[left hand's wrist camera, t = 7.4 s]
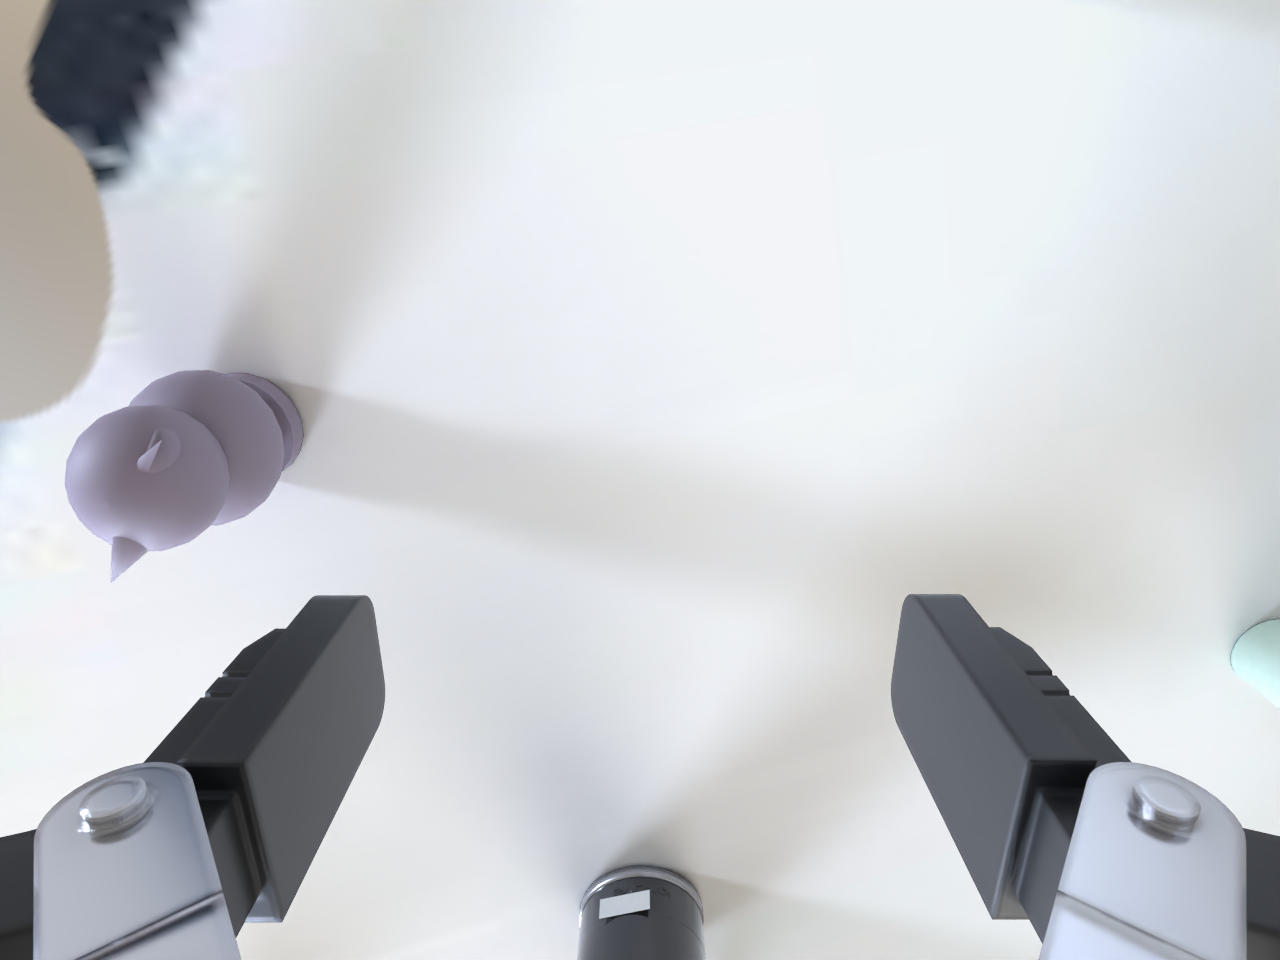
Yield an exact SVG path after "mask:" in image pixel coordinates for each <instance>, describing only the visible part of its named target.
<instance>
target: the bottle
mask: <svg viewBox="0 0 1280 960" xmlns="http://www.w3.org/2000/svg"><path fill="white" fill-rule="evenodd" d="M1231 664H1232V667H1233V669H1234V671H1235V673H1236V674H1237V675H1238V676H1239V677H1241V678H1242V679H1243V680H1244V681H1246V682H1247V683H1248V684H1249V685H1251V686H1252V687H1253V688H1254V689H1256V690H1257V691H1258V692H1259V693H1261V694H1262V695H1263V696H1264V697H1266V698H1267V699H1268V700H1269V701H1271V702H1272V703H1273V704H1274V705H1276V706H1277V707H1278V708H1279V709H1280V619H1275V620H1269V621H1265V622H1262V623H1260V624H1258V625H1256V626H1254V627H1252V628H1251V629H1249V630H1248V631H1246V632H1245V633H1244V634H1243V635H1242V636H1241V637H1240V638H1239V639H1238V641H1237V642H1236V644H1235V646H1234V648H1233V650H1232V654H1231Z"/></svg>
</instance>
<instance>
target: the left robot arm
mask: <svg viewBox="0 0 1280 960" xmlns="http://www.w3.org/2000/svg"><path fill="white" fill-rule="evenodd" d="M891 699H892V707H893V712H894V716H895V720H896V723H897V725H898V727H899V729H900V731H901V733H902V735H903V737H904V740H905V742H906V744H907V746H908V748H909V750H910V752H911V754H912V756H913V758H914V760H915V762H916V764H917V766H918V768H919V770H920V772H921V774H922V776H923V778H924V781H925V783H926V785H927V787H928V789H929V791H930V793H931V795H932V797H933V799H934V801H935V803H936V805H937V807H938V809H939V811H940V813H941V815H942V817H943V819H944V821H945V824H946V826H947V828H948V830H949V832H950V834H951V836H952V838H953V840H954V842H955V844H956V846H957V848H958V850H959V852H960V854H961V856H962V858H963V860H964V862H965V865H966V867H967V869H968V871H969V873H970V875H971V877H972V879H973V881H974V883H975V885H976V887H977V889H978V891H979V893H980V895H981V897H982V899H983V901H984V903H985V905H986V908H987V910H988V912H989V914H990V916H991V918H992V919H1029V920H1030V921H1031V923H1032V925H1033V927H1034V929H1035V931H1036V933H1037V934H1038V936H1039V938H1040V940H1041V942H1042V944H1043V945H1042V949H1041V953H1040V957H1039V960H1280V836H1276V835H1271V834H1267V833H1262V832H1258V831H1253V830H1249V829H1245V828H1242V826H1241V824H1240V822H1239V821H1238V820H1237V818H1236V817H1235V815H1234V814H1233V813H1232V812H1231V811H1230V810H1229V809H1228V808H1227V806H1225V805H1224V804H1223V803H1222V802H1221V801H1220V800H1219V799H1217V798H1216V797H1215V796H1213V795H1212V794H1211V793H1209V792H1208V791H1206V790H1205V789H1203V788H1202V787H1200V786H1198V785H1197V784H1195V783H1193V782H1191V781H1189V780H1187V779H1185V778H1183V777H1181V776H1179V775H1176V774H1174V773H1172V772H1169V771H1166V770H1163V769H1160V768H1157V767H1153V766H1149V765H1145V764H1139V763H1132V762H1131V761H1130V760H1129V759H1128V758H1127V756H1126V755H1125V754H1124V753H1123V752H1122V751H1121V750H1120V748H1119V747H1118V746H1117V745H1116V744H1115V743H1114V742H1113V740H1112V739H1111V738H1110V737H1109V736H1108V735H1107V733H1106V732H1105V731H1104V730H1103V729H1102V728H1101V727H1100V725H1099V724H1098V723H1097V722H1096V721H1095V720H1094V719H1093V717H1092V716H1091V715H1090V714H1089V713H1088V712H1087V711H1086V709H1085V708H1084V707H1083V706H1082V705H1081V704H1080V702H1079V701H1078V700H1077V699H1076V698H1075V697H1074V696H1070V695H1069V690H1068V689H1067V688H1066V686H1065V685H1064V684H1063V683H1062V682H1061V681H1060V679H1059V678H1058V677H1057V676H1053V675H1052V670H1051V669H1050V668H1049V667H1048V666H1047V665H1046V663H1045V662H1044V661H1043V660H1042V659H1041V658H1040V657H1039V655H1038V654H1037V653H1036V652H1035V651H1034V650H1033V648H1032V647H1030V646H1029V645H1027V644H1025V643H1024V642H1022V641H1021V640H1019V639H1017V638H1016V637H1014V636H1013V635H1011V634H1010V633H1008V632H1006V631H1005V630H1003V629H1002V628H1000V627H988V625H987V624H986V623H985V622H984V620H983V619H982V618H981V617H980V615H979V614H978V613H977V612H976V611H975V609H974V608H973V607H972V606H971V604H970V603H969V602H968V601H967V599H966V598H965V597H964V596H962V595H959V594H910V595H908V596H907V597H906V598H905V600H904V603H903V606H902V611H901V618H900V625H899V632H898V639H897V646H896V653H895V660H894V667H893V674H892V682H891ZM384 702H385V682H384V675H383V668H382V661H381V654H380V647H379V640H378V633H377V627H376V620H375V613H374V608H373V604H372V602H371V600H370V598H369V597H368V596H314V597H312V598H311V599H310V600H309V601H308V603H307V604H306V605H305V606H304V608H303V609H302V610H301V611H300V612H299V614H298V615H297V616H296V617H295V618H294V620H293V621H292V622H291V623H290V625H289V626H288V627H287V628H286V629H274V630H273V631H271V632H270V633H268V634H266V635H265V636H263V637H262V638H260V639H259V640H257V641H255V642H254V643H252V644H251V645H249V646H247V647H246V648H244V649H243V650H242V651H241V652H240V654H239V655H238V656H237V657H236V658H235V659H234V660H233V662H232V663H231V664H230V665H229V666H228V667H227V668H226V669H225V671H224V672H223V676H222V677H218V679H217V680H216V681H215V682H214V683H213V684H212V685H211V687H210V688H209V689H208V690H207V691H206V692H205V698H200V699H199V700H198V701H197V702H196V704H195V705H194V706H193V707H192V708H191V709H190V710H189V712H188V713H187V714H186V715H185V716H184V717H183V718H182V720H181V721H180V722H179V723H178V724H177V725H176V726H175V728H174V729H173V730H172V731H171V732H170V733H169V734H168V735H167V737H166V738H165V739H164V740H163V741H162V742H161V743H160V745H159V746H158V747H157V748H156V749H155V750H154V751H153V753H152V754H151V755H150V756H149V757H148V758H147V759H146V761H145V762H144V763H141V764H135V765H131V766H127V767H123V768H120V769H117V770H114V771H111V772H108V773H106V774H104V775H101V776H99V777H97V778H95V779H93V780H91V781H89V782H87V783H85V784H83V785H82V786H80V787H78V788H77V789H75V790H74V791H72V792H71V793H69V794H68V795H67V796H65V797H64V798H63V799H61V800H60V801H59V802H58V803H57V804H56V805H55V806H53V808H52V809H51V810H50V811H49V812H48V813H47V814H46V815H45V817H44V818H43V820H42V821H41V822H40V824H39V826H38V828H37V829H35V830H31V831H27V832H23V833H19V834H14V835H10V836H5V837H1V838H0V960H241V957H240V953H239V949H238V945H237V942H236V937H237V935H238V933H239V931H240V930H241V928H242V926H243V924H244V922H282V921H283V919H284V917H285V915H286V913H287V911H288V909H289V907H290V905H291V903H292V901H293V899H294V897H295V895H296V893H297V891H298V889H299V887H300V885H301V883H302V881H303V879H304V877H305V875H306V873H307V871H308V869H309V867H310V865H311V862H312V860H313V858H314V856H315V854H316V852H317V850H318V848H319V846H320V844H321V842H322V840H323V838H324V836H325V834H326V832H327V830H328V828H329V826H330V824H331V822H332V820H333V818H334V816H335V814H336V812H337V810H338V808H339V806H340V804H341V802H342V800H343V798H344V796H345V794H346V792H347V790H348V788H349V786H350V784H351V782H352V780H353V777H354V775H355V773H356V771H357V769H358V767H359V765H360V763H361V761H362V759H363V757H364V755H365V753H366V751H367V749H368V747H369V745H370V743H371V741H372V739H373V737H374V735H375V733H376V731H377V729H378V727H379V724H380V721H381V718H382V714H383V709H384ZM579 923H580V933H579V946H578V955H577V960H705V949H704V937H703V910H702V903H701V900H700V897H699V895H698V893H697V891H696V890H695V889H694V887H693V886H692V885H691V884H690V883H689V882H688V881H686V880H685V879H684V878H682V877H681V876H679V875H677V874H675V873H673V872H671V871H668V870H665V869H661V868H657V867H650V866H633V867H626V868H621V869H618V870H615V871H612V872H610V873H607V874H605V875H604V876H602V877H600V878H599V879H597V880H596V881H595V882H594V883H593V884H592V885H591V886H590V887H589V888H588V889H587V891H586V892H585V894H584V896H583V898H582V902H581V906H580V918H579Z"/></svg>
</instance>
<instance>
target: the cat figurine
mask: <svg viewBox="0 0 1280 960" xmlns="http://www.w3.org/2000/svg"><path fill="white" fill-rule="evenodd" d="M302 440H303V429H302V423H301V418H300V416H299V414H298V412H297V410H296V408H295V406H294V404H293V402H292V401H291V400H290V399H289V398H288V397H287V396H286V395H285V393H284V392H283V391H282V390H281V389H280V388H278V387H277V386H275V385H273V384H272V383H270V382H269V381H267V380H266V379H263V378H260V377H257V376H254V375H251V374H246V373H229V374H226V375H223V374H220V373H217V372H214V371H209V370H201V371H180V372H177V373H174V374H171V375H169V376H166V377H163V378H161V379H158V380H156V381H154V382H152V383H151V384H150V385H148V386H147V387H146V388H145V389H144V390H143V391H142V392H141V393H140V394H138V395H137V396H136V397H135V398H134V399H133V400H132V402H131V403H130V405H129V407H125V408H122V409H120V410H117V411H114V412H112V413H109V414H106V415H104V416H102V417H100V418H99V419H97V420H96V421H95V422H94V423H93V424H92V425H91V426H90V427H89V428H87V429H86V430H85V431H84V432H83V433H82V434H81V435H80V436H79V437H78V439H77V441H76V443H75V445H74V447H73V449H72V451H71V453H70V455H69V457H68V459H67V464H66V475H65V487H66V491H67V495H68V500H69V503H70V505H71V507H72V508H73V510H74V512H75V514H76V515H77V517H78V519H79V520H80V521H81V522H82V523H83V524H84V525H85V526H86V527H87V528H88V529H89V530H90V531H91V532H92V533H93V534H94V535H96V536H97V537H99V538H101V539H102V540H104V541H106V542H108V543H109V544H111V545H112V561H111V583H112V582H113V581H114V580H115V579H116V578H117V577H119V576H120V575H121V574H122V573H123V572H124V571H126V570H127V569H128V568H129V567H130V566H131V565H133V564H134V563H135V562H136V561H137V560H138V559H139V558H141V557H142V556H143V555H144V554H145V553H146V552H148V551H164V550H167V549H170V548H173V547H176V546H179V545H182V544H185V543H188V542H190V541H191V540H193V539H195V538H196V537H197V536H198V535H200V534H201V533H202V532H203V531H204V530H206V529H207V528H208V527H209V526H217V525H222V524H225V523H228V522H231V521H234V520H237V519H240V518H243V517H245V516H246V515H248V514H249V513H251V512H252V511H253V510H254V509H256V508H257V507H258V506H259V505H261V504H262V503H263V502H264V501H265V500H266V499H267V498H268V497H269V495H270V493H271V492H272V490H273V488H274V487H275V485H276V483H277V482H278V480H279V478H280V475H281V472H282V471H283V470H284V469H286V468H287V467H288V466H290V465H291V464H292V463H293V462H294V460H295V459H296V457H297V455H298V454H299V452H300V451H301V445H302Z"/></svg>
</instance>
